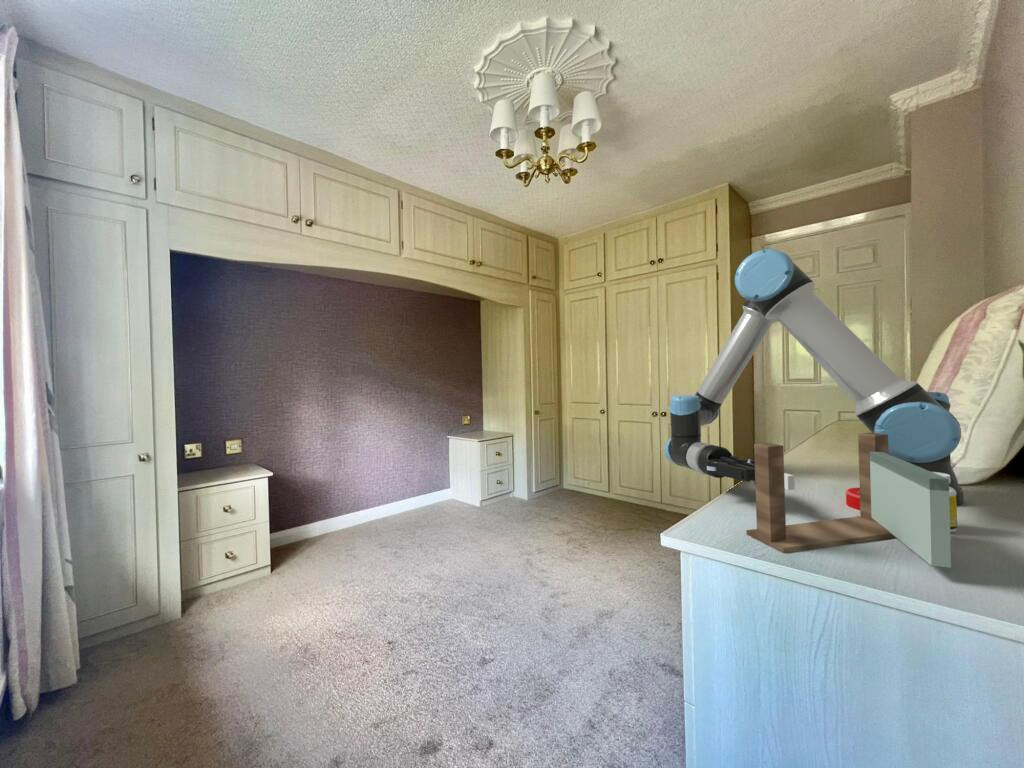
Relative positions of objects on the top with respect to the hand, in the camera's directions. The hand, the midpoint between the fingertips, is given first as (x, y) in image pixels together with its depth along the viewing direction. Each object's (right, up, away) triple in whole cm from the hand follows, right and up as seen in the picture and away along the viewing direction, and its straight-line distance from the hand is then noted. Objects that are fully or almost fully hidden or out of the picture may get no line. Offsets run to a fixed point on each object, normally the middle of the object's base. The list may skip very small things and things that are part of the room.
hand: (791, 482), depth 80 cm
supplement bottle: (+22, -7, -6) cm, 24 cm away
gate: (+8, -5, -14) cm, 17 cm away
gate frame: (+3, -8, -7) cm, 10 cm away
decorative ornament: (+22, -7, +6) cm, 24 cm away
